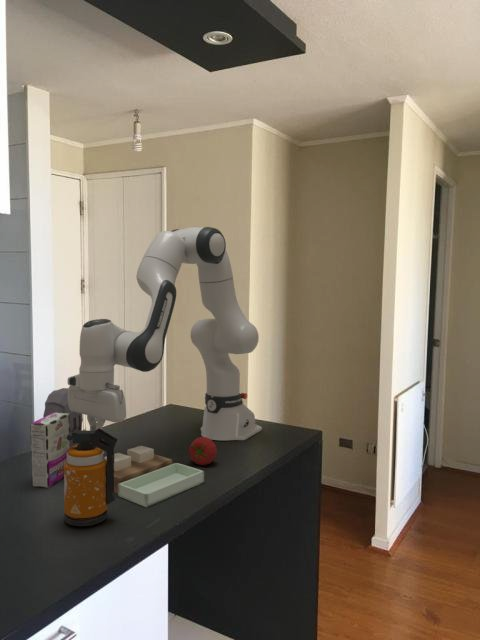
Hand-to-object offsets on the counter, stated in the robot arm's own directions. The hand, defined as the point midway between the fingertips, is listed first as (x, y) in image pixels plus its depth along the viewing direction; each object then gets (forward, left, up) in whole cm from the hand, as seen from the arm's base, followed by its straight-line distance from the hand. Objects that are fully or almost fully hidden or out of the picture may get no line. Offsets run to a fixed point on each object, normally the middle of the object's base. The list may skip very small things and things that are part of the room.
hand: (96, 432), depth 145 cm
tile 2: (-8, +8, -7) cm, 14 cm away
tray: (-4, +21, -11) cm, 24 cm away
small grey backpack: (-4, -20, -12) cm, 24 cm away
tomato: (-24, +16, -12) cm, 31 cm away
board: (-4, +9, -11) cm, 15 cm away
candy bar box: (+10, -6, -12) cm, 16 cm away
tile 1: (0, +8, -7) cm, 11 cm away
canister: (+18, +21, -12) cm, 30 cm away
